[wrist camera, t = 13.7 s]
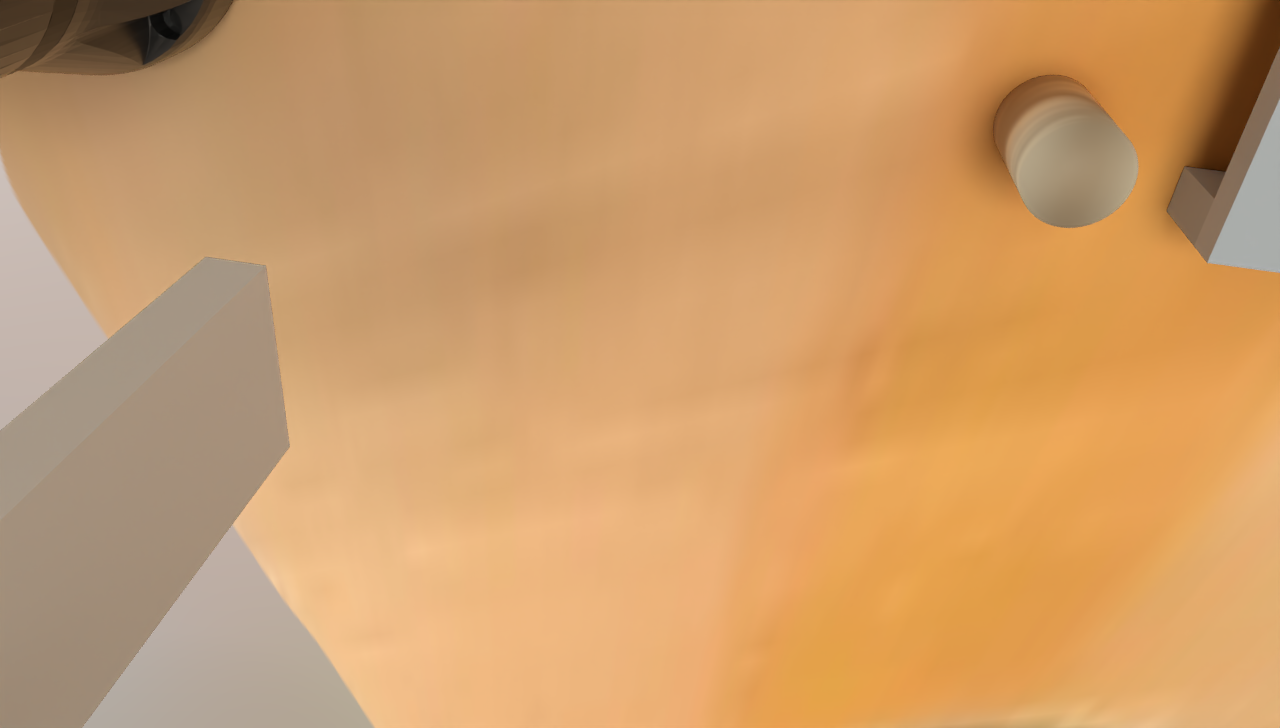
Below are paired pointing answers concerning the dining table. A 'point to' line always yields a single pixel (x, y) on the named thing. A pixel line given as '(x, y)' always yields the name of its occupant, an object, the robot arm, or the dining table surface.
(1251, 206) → the square frame with posts
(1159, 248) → the dining table surface
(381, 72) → the dining table surface
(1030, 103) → the short dowel
